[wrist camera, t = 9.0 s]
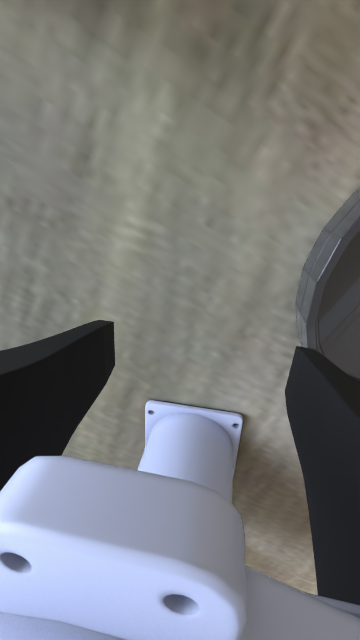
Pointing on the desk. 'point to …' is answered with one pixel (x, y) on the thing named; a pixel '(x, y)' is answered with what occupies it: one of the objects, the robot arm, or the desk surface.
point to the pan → (333, 291)
